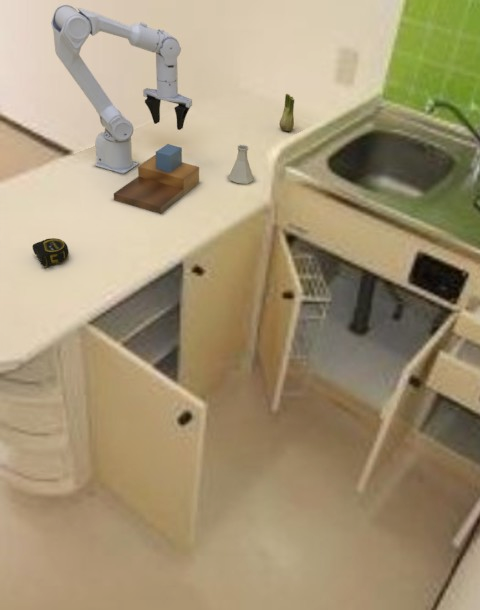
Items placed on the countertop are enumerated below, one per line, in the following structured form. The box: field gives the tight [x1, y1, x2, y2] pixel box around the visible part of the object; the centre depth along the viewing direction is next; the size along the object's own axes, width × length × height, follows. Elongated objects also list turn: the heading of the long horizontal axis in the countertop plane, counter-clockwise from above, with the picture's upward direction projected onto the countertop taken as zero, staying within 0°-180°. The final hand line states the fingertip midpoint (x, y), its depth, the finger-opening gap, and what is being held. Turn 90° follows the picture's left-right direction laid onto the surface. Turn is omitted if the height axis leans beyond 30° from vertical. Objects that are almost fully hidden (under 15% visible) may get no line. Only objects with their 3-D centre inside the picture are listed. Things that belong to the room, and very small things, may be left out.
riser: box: [113, 154, 200, 215], centre depth 175 cm, size 14×21×5 cm, turn 161°
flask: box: [228, 144, 254, 185], centre depth 186 cm, size 7×7×10 cm
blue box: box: [155, 143, 183, 173], centre depth 177 cm, size 4×6×5 cm
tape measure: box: [32, 237, 70, 267], centre depth 144 cm, size 7×7×4 cm
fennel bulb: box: [279, 93, 295, 132], centre depth 219 cm, size 6×5×12 cm
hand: (168, 125), depth 187 cm, fingers open, 7 cm apart
